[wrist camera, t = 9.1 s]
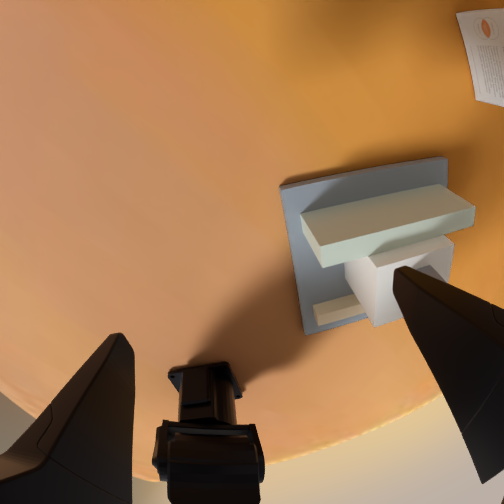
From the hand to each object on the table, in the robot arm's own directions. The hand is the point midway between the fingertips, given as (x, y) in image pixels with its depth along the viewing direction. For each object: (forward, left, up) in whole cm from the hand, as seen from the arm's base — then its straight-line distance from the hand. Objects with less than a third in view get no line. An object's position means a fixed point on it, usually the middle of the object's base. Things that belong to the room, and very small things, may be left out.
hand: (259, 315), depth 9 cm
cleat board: (-8, -10, -13) cm, 18 cm away
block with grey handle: (-7, -10, -12) cm, 17 cm away
